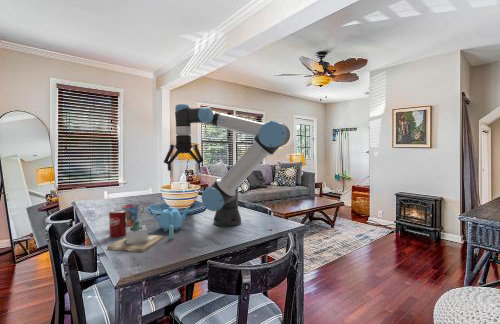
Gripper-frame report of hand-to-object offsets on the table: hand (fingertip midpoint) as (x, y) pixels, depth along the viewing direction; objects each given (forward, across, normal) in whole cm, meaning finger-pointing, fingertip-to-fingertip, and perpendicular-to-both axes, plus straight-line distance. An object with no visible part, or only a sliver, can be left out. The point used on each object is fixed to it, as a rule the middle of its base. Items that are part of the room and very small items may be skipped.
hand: (184, 176), depth 139 cm
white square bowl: (+25, +26, +13) cm, 38 cm away
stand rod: (+26, +12, +15) cm, 33 cm away
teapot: (+27, +7, -1) cm, 27 cm away
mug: (+26, +23, -18) cm, 39 cm away
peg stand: (+26, +26, +13) cm, 39 cm away
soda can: (+26, +32, -2) cm, 41 cm away
